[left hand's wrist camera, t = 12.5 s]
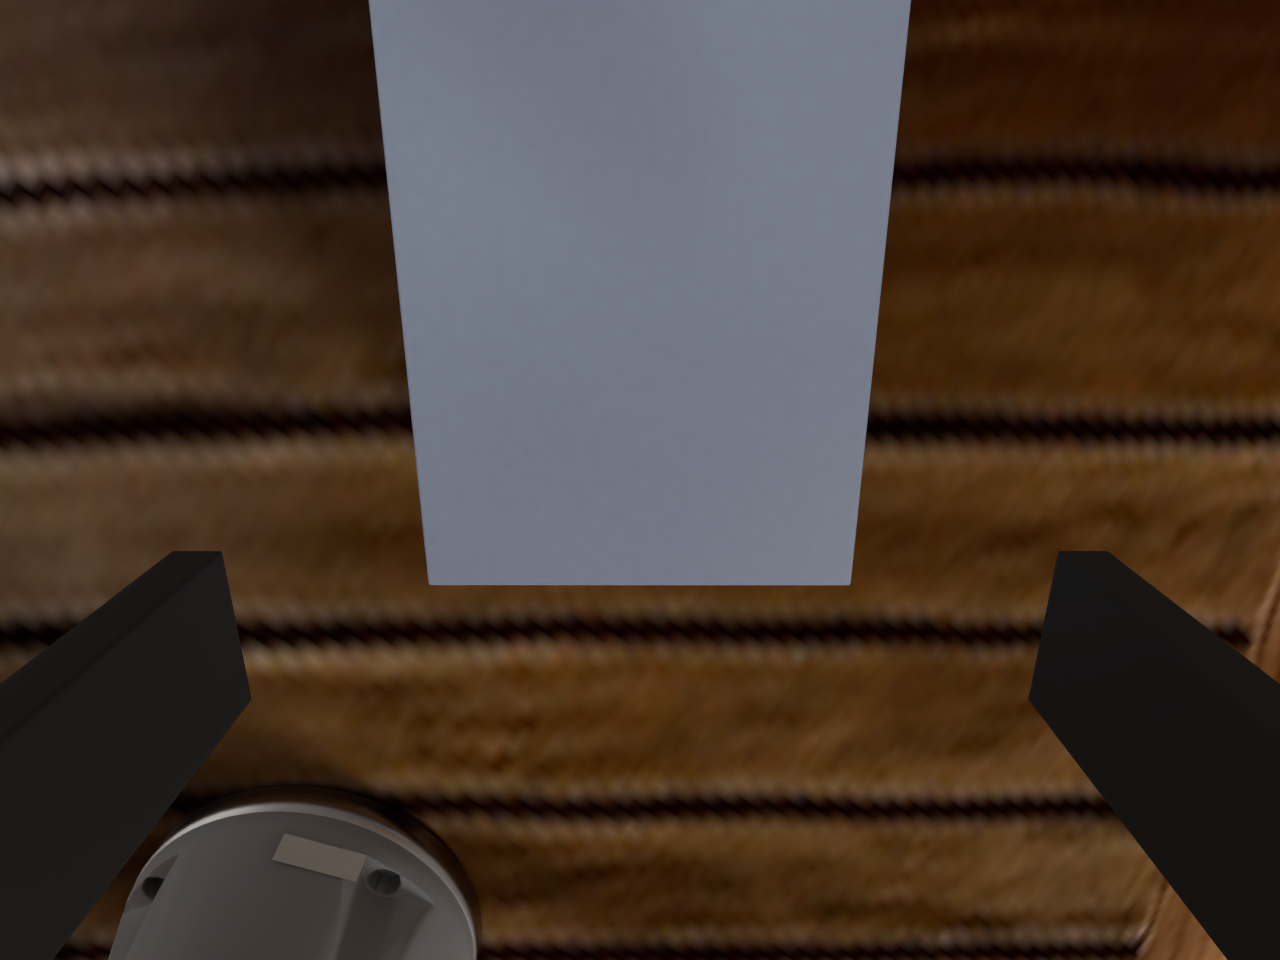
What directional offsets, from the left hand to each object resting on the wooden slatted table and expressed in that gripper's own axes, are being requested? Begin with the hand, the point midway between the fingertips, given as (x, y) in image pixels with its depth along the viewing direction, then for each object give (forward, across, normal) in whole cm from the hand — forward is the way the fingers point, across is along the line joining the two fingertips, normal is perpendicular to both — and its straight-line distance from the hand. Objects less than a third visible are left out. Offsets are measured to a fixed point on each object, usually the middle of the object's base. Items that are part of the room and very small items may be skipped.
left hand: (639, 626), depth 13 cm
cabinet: (+16, 0, -8) cm, 18 cm away
